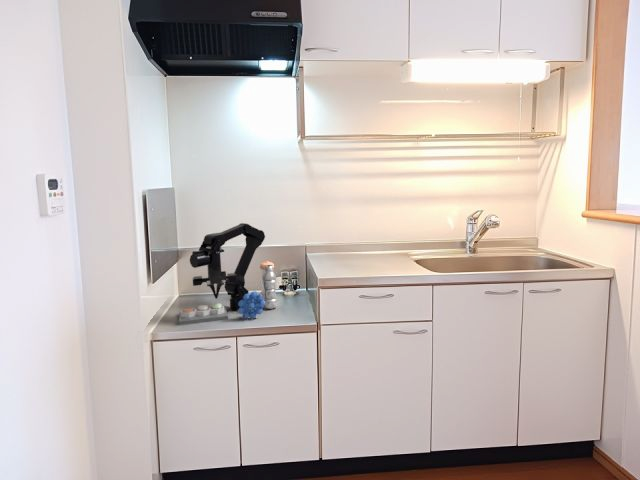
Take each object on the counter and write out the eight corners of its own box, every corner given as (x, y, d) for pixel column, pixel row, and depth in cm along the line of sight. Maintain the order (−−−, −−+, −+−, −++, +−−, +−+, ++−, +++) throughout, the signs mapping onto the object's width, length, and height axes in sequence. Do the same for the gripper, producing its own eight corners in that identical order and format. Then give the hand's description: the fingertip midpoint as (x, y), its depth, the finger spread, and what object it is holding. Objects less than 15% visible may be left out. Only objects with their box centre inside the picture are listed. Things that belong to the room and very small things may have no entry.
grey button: (207, 309, 191) (207, 304, 190) (207, 312, 187) (207, 306, 187) (198, 310, 190) (197, 305, 189) (198, 313, 186) (198, 307, 186)
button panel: (225, 309, 198) (224, 302, 198) (228, 319, 185) (227, 311, 185) (179, 314, 192) (178, 307, 192) (179, 324, 179) (178, 316, 179)
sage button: (221, 308, 193) (221, 302, 192) (222, 310, 189) (221, 305, 188) (212, 309, 191) (211, 303, 191) (212, 311, 188) (212, 306, 187)
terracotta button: (193, 313, 189) (193, 307, 189) (193, 316, 185) (193, 310, 185) (183, 314, 188) (183, 308, 188) (183, 317, 184) (183, 311, 184)
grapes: (265, 314, 190) (264, 288, 188) (266, 319, 184) (265, 292, 182) (238, 316, 188) (237, 289, 187) (238, 321, 182) (236, 294, 180)
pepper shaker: (261, 296, 218) (259, 259, 215) (275, 296, 219) (274, 259, 216) (260, 301, 211) (259, 262, 208) (275, 300, 212) (274, 261, 209)
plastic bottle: (265, 311, 195) (264, 267, 192) (261, 307, 201) (259, 265, 198) (279, 309, 198) (277, 266, 195) (274, 305, 204) (273, 263, 201)
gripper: (191, 269, 177) (194, 306, 179) (237, 265, 182) (239, 301, 184) (191, 263, 187) (194, 298, 190) (235, 260, 193) (237, 294, 195)
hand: (216, 298), depth 189 cm, fingers closed
